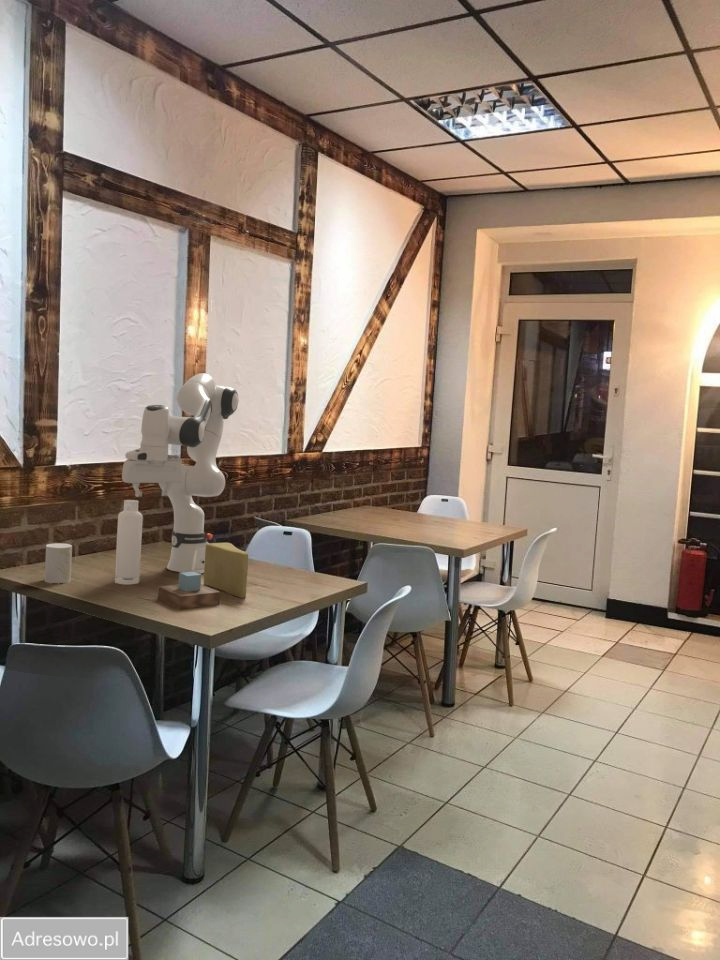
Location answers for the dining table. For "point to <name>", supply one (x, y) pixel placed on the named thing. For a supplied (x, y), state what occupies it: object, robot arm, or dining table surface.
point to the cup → (58, 563)
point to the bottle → (128, 544)
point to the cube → (189, 581)
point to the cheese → (226, 568)
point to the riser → (188, 596)
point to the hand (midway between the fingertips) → (151, 496)
